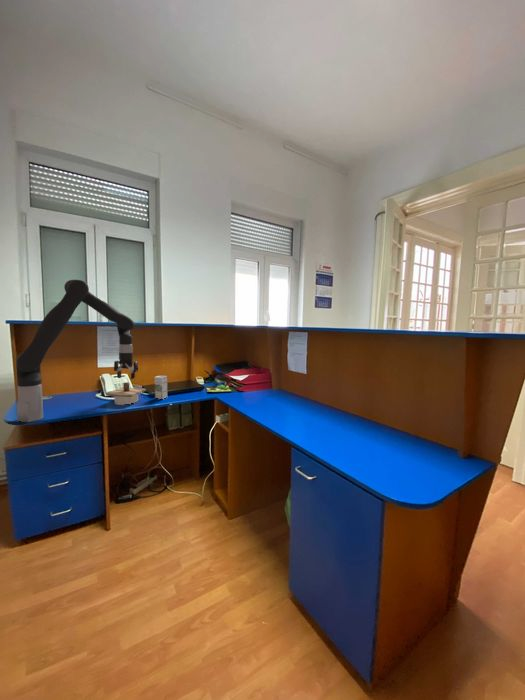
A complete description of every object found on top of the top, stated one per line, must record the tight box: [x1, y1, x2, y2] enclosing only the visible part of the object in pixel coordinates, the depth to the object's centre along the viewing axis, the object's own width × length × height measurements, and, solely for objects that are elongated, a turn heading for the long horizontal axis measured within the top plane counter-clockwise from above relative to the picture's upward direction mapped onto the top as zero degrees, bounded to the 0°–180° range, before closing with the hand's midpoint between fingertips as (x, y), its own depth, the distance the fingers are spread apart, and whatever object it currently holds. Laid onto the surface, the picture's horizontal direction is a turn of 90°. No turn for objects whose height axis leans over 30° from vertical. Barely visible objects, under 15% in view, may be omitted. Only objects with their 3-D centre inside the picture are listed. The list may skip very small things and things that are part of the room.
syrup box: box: [154, 375, 168, 400], centre depth 187 cm, size 6×6×14 cm
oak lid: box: [105, 381, 147, 397], centre depth 177 cm, size 16×16×6 cm
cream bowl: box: [113, 394, 140, 406], centre depth 178 cm, size 13×13×6 cm
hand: (126, 378), depth 177 cm, fingers open, 8 cm apart
